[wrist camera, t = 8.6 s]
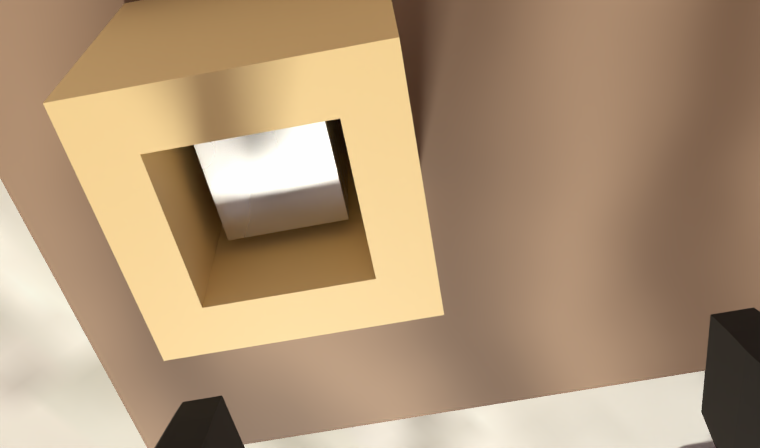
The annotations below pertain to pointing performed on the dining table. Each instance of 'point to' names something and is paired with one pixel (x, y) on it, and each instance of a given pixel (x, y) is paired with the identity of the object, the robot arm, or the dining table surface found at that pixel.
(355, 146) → the square hole block
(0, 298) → the dining table surface
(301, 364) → the board
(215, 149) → the square post
